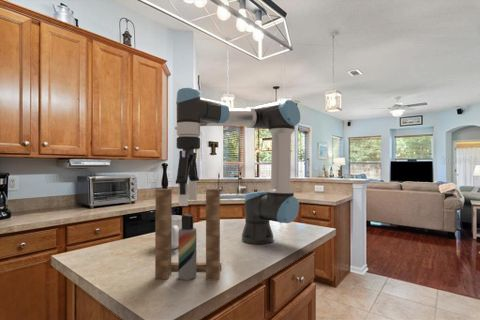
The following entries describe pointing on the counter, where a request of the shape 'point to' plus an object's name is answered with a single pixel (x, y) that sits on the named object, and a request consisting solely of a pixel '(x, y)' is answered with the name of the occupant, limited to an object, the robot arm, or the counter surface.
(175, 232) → the mug
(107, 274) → the counter surface
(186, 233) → the lotion bottle
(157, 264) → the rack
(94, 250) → the counter surface
